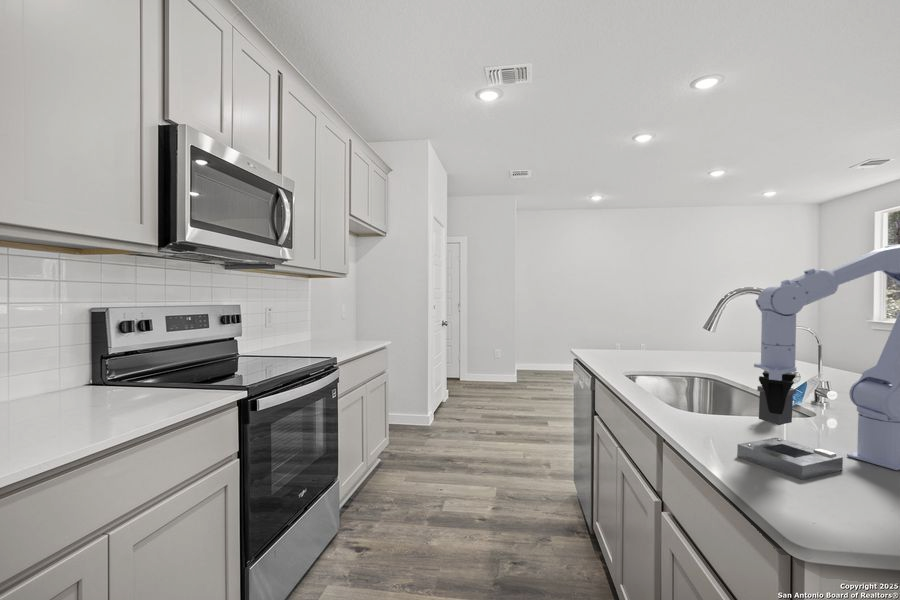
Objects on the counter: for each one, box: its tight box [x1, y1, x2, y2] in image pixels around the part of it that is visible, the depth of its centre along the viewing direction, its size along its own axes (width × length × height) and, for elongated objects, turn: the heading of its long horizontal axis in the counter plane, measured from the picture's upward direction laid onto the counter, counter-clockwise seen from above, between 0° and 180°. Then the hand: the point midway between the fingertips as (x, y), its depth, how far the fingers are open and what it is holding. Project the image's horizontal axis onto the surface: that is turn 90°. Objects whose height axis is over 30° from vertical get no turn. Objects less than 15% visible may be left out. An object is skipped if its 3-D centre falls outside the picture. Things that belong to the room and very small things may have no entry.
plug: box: [756, 385, 797, 426], centre depth 91 cm, size 5×5×7 cm
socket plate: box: [736, 437, 844, 481], centre depth 87 cm, size 12×12×3 cm
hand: (776, 409), depth 91 cm, fingers closed on plug, 6 cm apart
